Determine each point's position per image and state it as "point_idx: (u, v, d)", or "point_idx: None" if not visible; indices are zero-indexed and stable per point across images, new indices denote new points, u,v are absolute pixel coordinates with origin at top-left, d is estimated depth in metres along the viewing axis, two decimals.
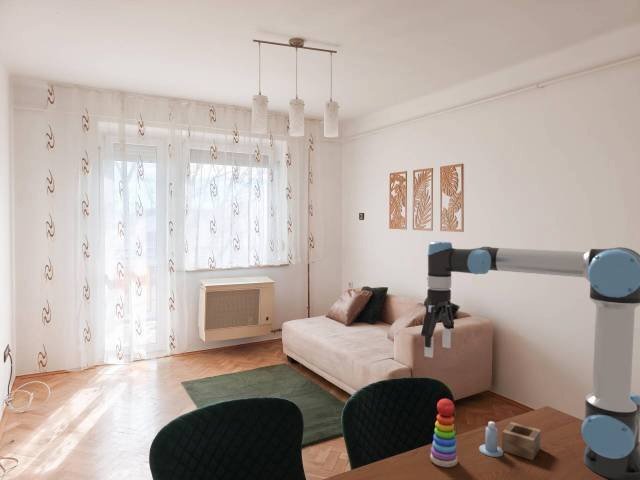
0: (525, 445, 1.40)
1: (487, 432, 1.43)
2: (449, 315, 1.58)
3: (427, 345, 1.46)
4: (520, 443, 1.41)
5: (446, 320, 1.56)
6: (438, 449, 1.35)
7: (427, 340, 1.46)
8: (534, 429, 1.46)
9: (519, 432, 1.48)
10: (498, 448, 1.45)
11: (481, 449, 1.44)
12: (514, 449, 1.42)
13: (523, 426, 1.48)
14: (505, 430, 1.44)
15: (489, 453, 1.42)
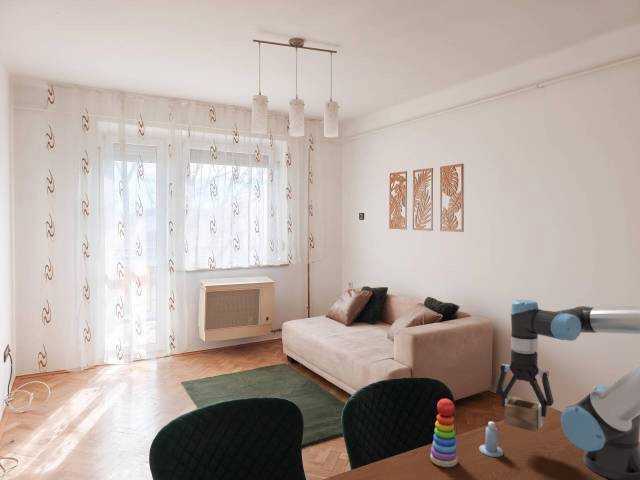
0: (527, 417, 1.39)
1: (487, 432, 1.43)
2: None
3: None
4: (522, 415, 1.40)
5: None
6: (438, 449, 1.35)
7: None
8: (536, 402, 1.45)
9: (521, 406, 1.47)
10: (498, 448, 1.45)
11: (481, 449, 1.44)
12: (517, 421, 1.41)
13: (525, 400, 1.47)
14: (507, 404, 1.44)
15: (489, 453, 1.42)
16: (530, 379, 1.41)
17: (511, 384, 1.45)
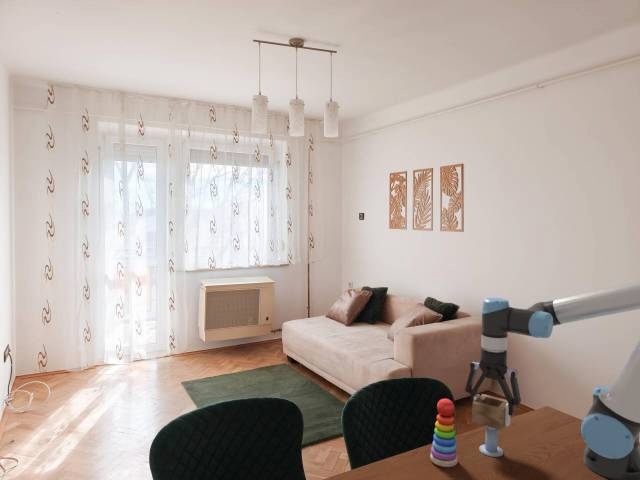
0: (494, 415, 1.38)
1: (487, 432, 1.43)
2: None
3: None
4: (489, 413, 1.39)
5: None
6: (438, 449, 1.35)
7: None
8: (505, 400, 1.44)
9: (490, 404, 1.46)
10: (498, 448, 1.45)
11: (481, 449, 1.44)
12: (484, 419, 1.40)
13: (494, 398, 1.46)
14: (475, 401, 1.43)
15: (489, 453, 1.42)
16: (498, 378, 1.40)
17: (480, 382, 1.44)
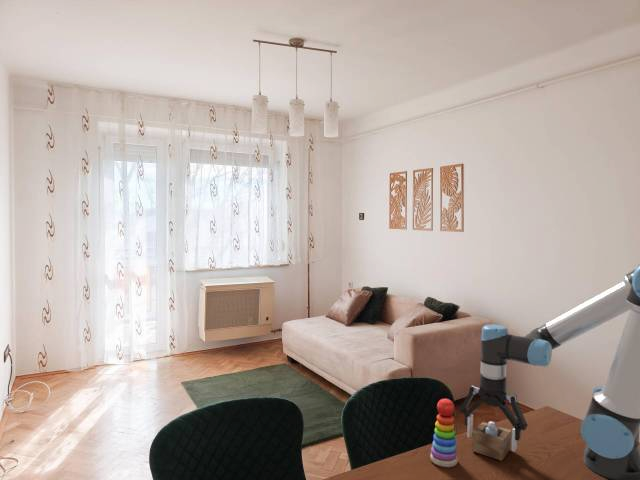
0: (494, 445, 1.39)
1: (487, 432, 1.43)
2: None
3: None
4: (489, 443, 1.39)
5: None
6: (438, 449, 1.35)
7: None
8: (505, 429, 1.44)
9: None
10: None
11: None
12: (484, 449, 1.41)
13: None
14: (475, 431, 1.43)
15: None
16: (499, 404, 1.40)
17: (476, 406, 1.45)
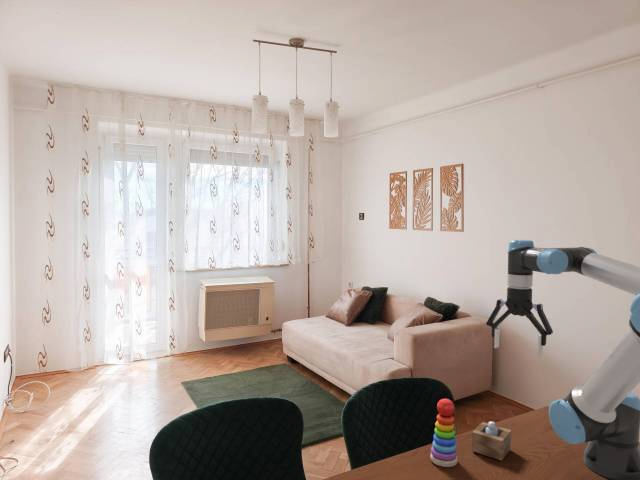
0: (494, 445, 1.39)
1: (487, 432, 1.43)
2: None
3: None
4: (489, 443, 1.39)
5: None
6: (438, 449, 1.35)
7: None
8: (505, 429, 1.44)
9: None
10: None
11: None
12: (484, 449, 1.41)
13: None
14: (475, 431, 1.43)
15: None
16: (526, 313, 1.48)
17: (503, 317, 1.53)
